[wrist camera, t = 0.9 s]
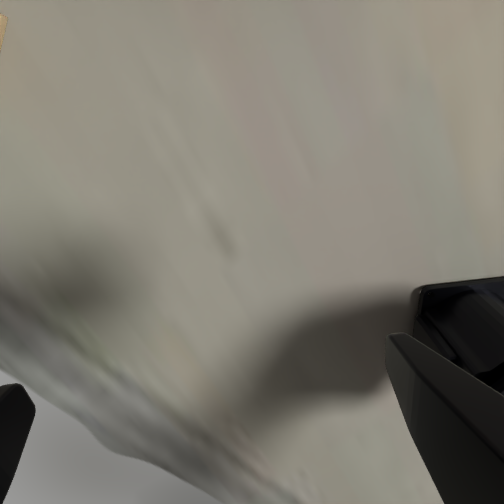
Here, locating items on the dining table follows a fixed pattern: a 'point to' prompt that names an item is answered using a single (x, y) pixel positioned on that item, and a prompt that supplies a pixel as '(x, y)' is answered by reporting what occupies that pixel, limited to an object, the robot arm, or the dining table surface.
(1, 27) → the oak block
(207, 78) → the dining table surface
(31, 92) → the dining table surface
